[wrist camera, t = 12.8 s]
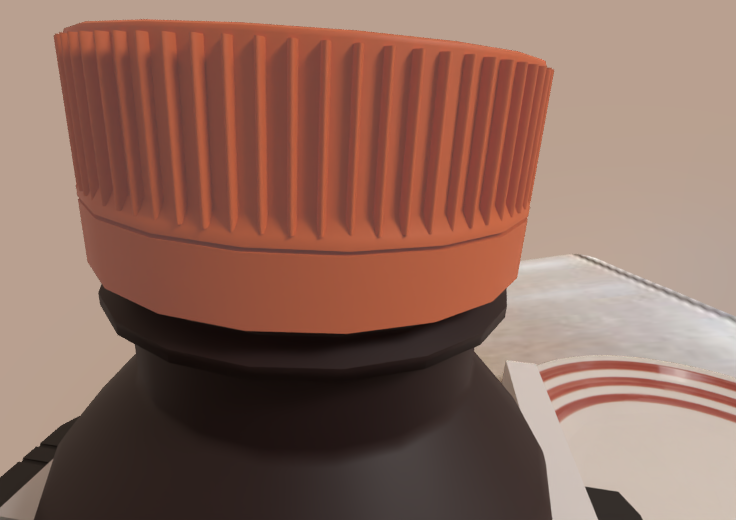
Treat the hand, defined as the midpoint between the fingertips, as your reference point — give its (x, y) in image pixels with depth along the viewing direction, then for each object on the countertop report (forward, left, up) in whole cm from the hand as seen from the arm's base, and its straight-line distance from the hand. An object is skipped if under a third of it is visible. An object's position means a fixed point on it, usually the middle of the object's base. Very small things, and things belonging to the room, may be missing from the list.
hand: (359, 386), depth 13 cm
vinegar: (+2, +4, -12) cm, 13 cm away
